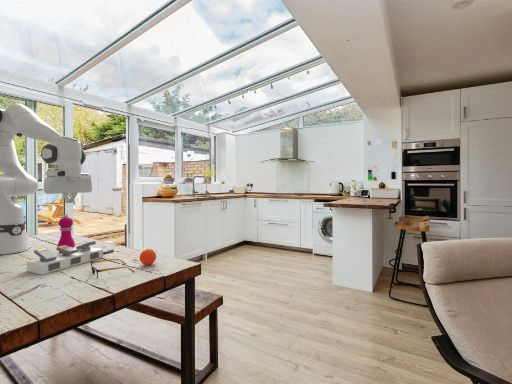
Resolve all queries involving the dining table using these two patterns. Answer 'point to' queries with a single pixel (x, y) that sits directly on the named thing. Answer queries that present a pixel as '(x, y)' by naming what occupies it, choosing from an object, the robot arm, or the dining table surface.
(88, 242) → the rocker
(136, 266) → the dining table surface
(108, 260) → the eyeglasses
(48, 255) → the block
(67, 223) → the pepper mill
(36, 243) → the dining table surface
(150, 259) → the clementine
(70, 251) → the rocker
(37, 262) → the power strip
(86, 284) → the dining table surface
